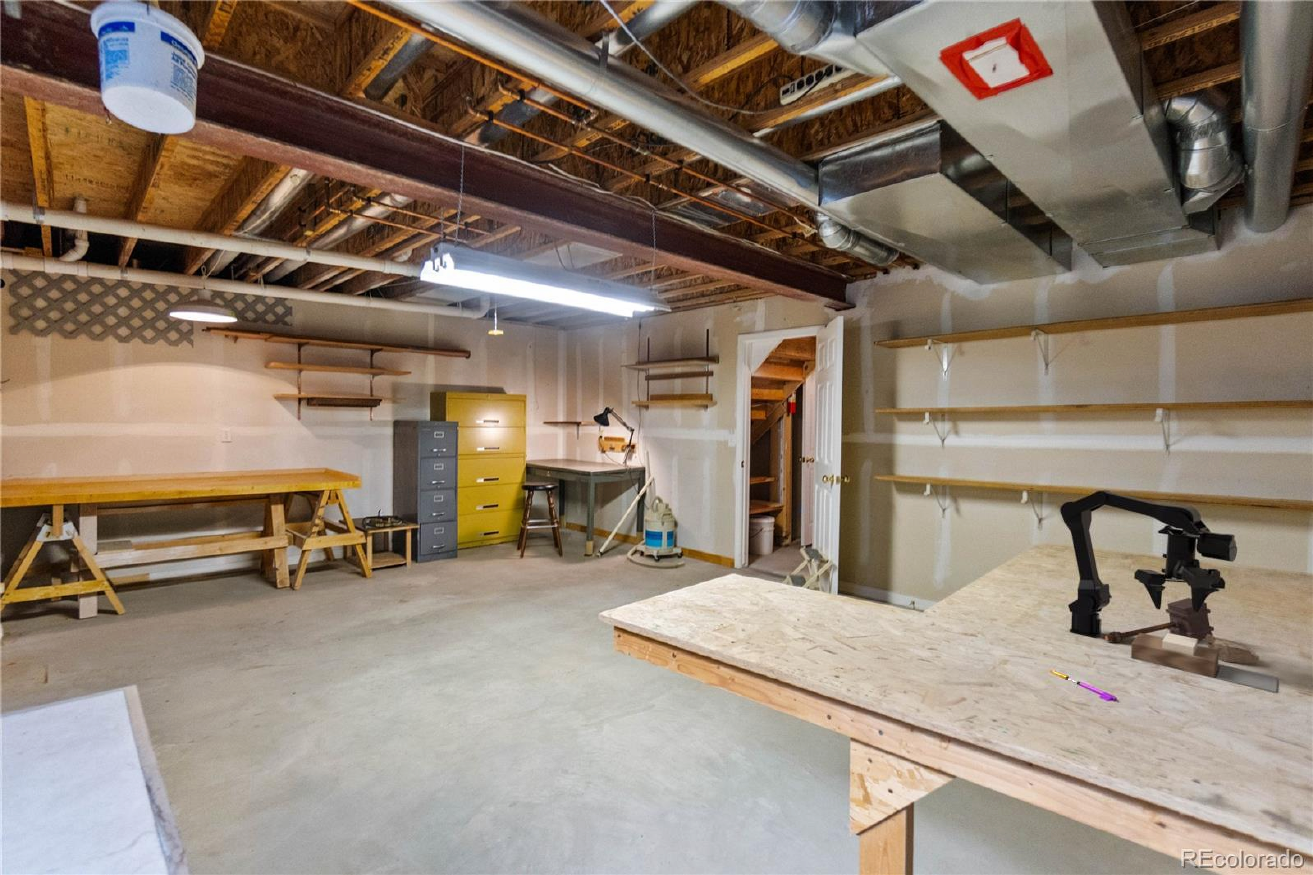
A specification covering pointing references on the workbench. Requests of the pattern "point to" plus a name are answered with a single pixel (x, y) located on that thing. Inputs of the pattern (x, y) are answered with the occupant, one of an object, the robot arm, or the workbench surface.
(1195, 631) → the hammer
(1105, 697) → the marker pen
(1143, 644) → the plate
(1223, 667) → the mat
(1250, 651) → the stone
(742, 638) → the workbench surface
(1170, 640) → the cream rectangular block
